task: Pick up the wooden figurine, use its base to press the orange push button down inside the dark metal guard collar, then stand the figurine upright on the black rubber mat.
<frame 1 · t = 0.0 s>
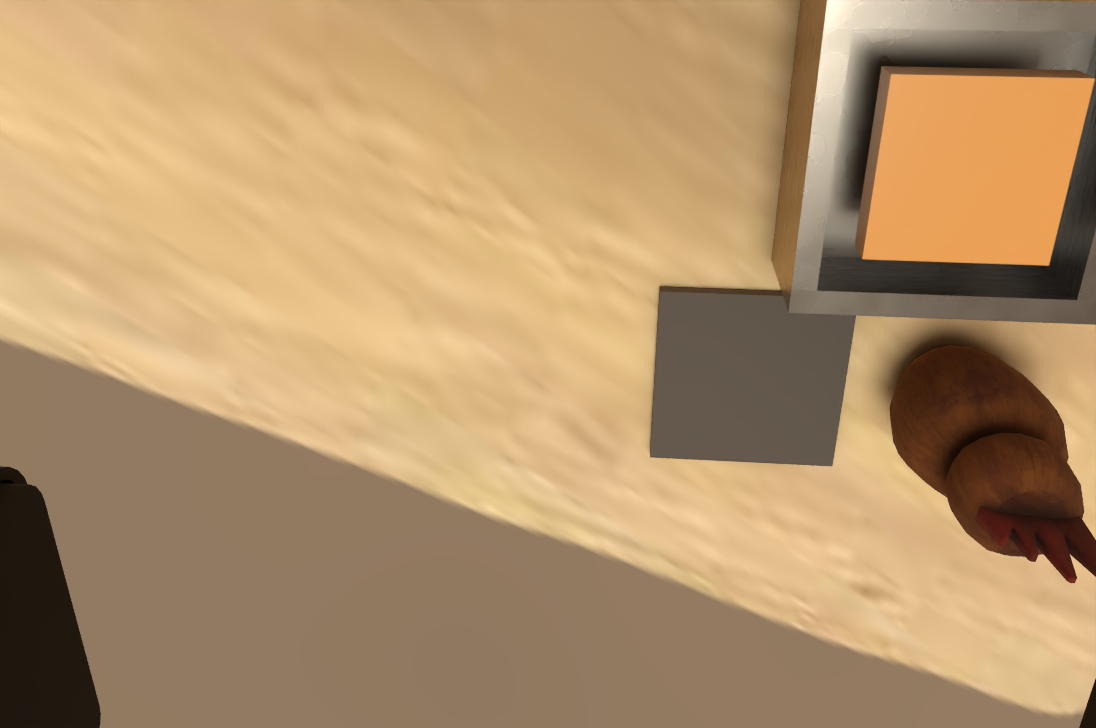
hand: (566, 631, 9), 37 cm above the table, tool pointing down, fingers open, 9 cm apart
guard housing: (929, 132, 42), on the table
wooden figurine: (947, 382, 48), on the table
button: (966, 167, 37), point 6 cm above the table, slide at 0.0 cm
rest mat: (748, 376, 48), on the table
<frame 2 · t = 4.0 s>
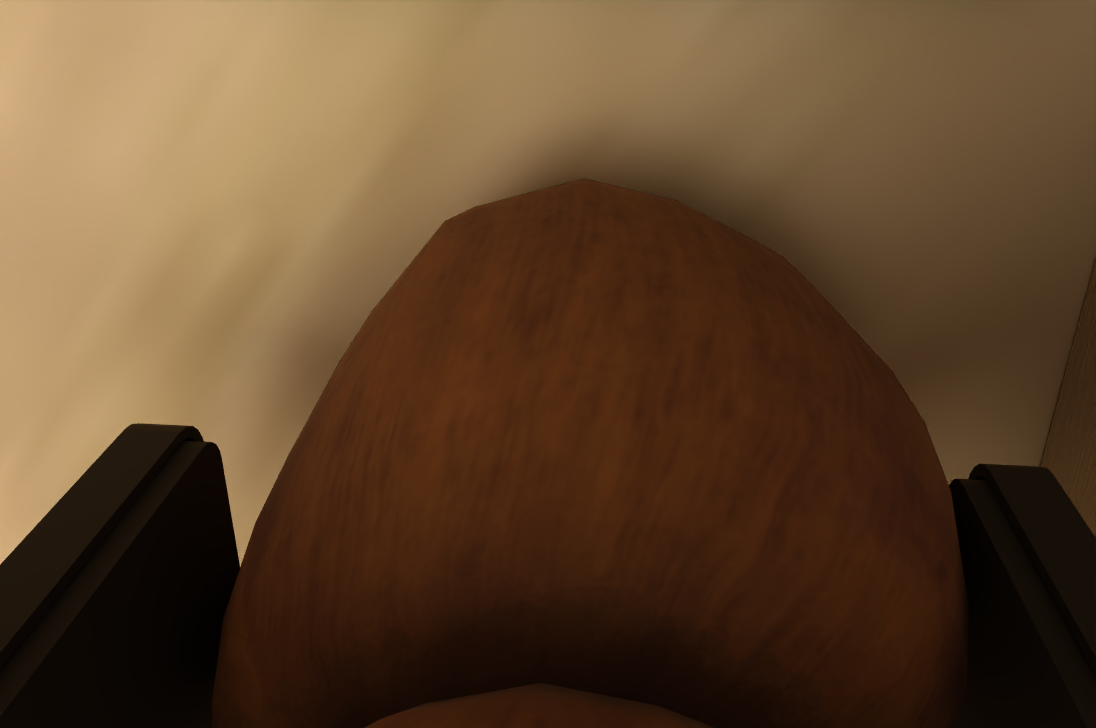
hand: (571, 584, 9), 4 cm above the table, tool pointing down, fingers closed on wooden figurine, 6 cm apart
wooden figurine: (596, 361, 13), on the table, touching gripper
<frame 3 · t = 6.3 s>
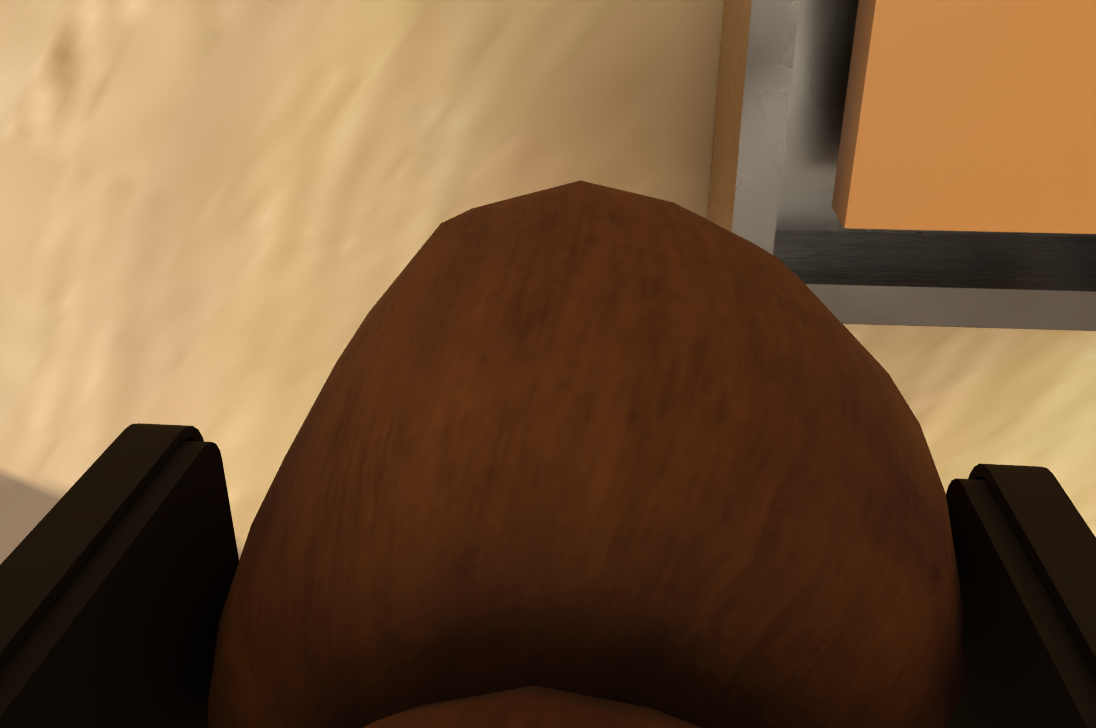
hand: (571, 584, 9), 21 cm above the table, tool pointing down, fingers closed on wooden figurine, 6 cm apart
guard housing: (948, 30, 27), on the table
wooden figurine: (594, 362, 13), point 16 cm above the table, touching gripper
button: (1022, 66, 22), point 5 cm above the table, slide at 0.0 cm
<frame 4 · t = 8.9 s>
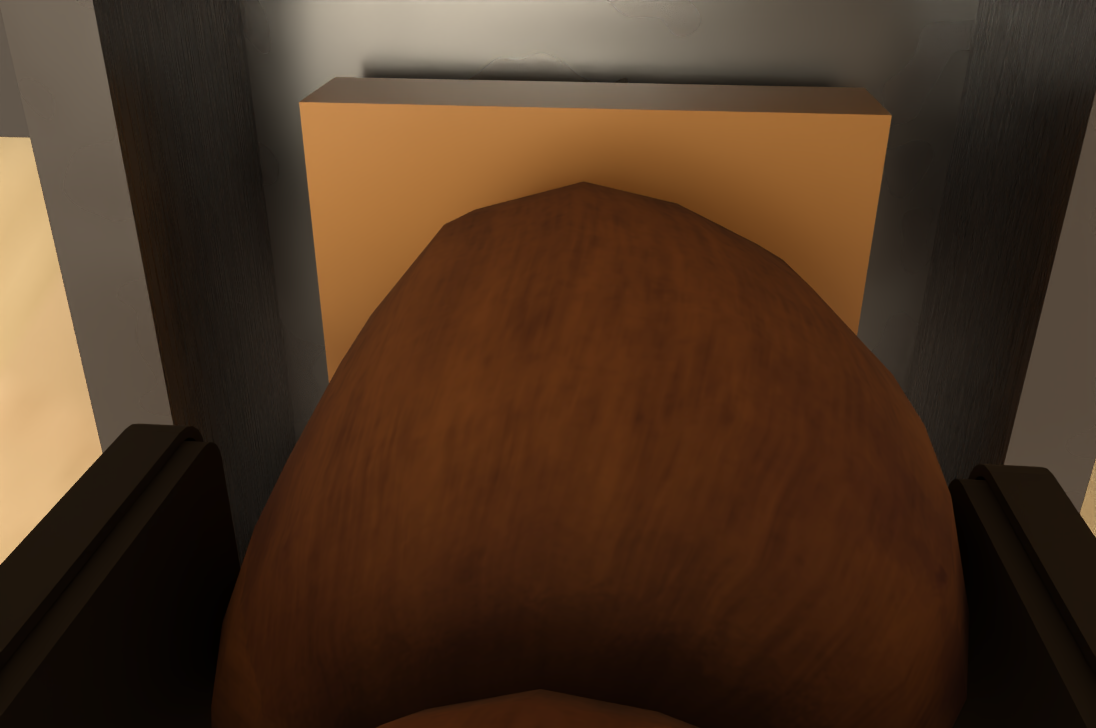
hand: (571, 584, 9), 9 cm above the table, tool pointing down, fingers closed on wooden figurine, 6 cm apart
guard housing: (596, 257, 17), on the table
wooden figurine: (596, 363, 13), point 4 cm above the table, touching button, gripper
button: (586, 346, 14), point 4 cm above the table, slide at 1.9 cm, touching wooden figurine
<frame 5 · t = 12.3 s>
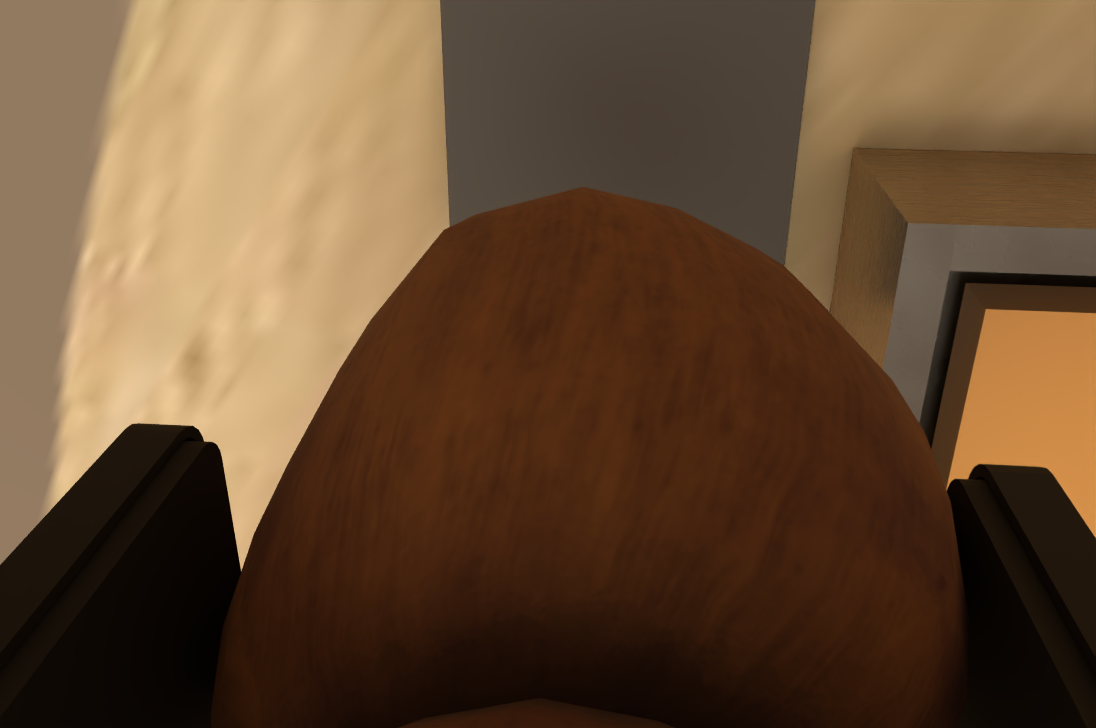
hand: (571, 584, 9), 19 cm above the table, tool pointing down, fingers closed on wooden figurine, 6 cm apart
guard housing: (1041, 366, 28), on the table
wooden figurine: (596, 367, 13), point 14 cm above the table, touching gripper
button: (1093, 431, 25), point 4 cm above the table, slide at 1.9 cm
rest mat: (620, 123, 26), on the table
when the fingers open (6 cm above the table, at t = 14.9 s): wooden figurine stays where it is, resting on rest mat.
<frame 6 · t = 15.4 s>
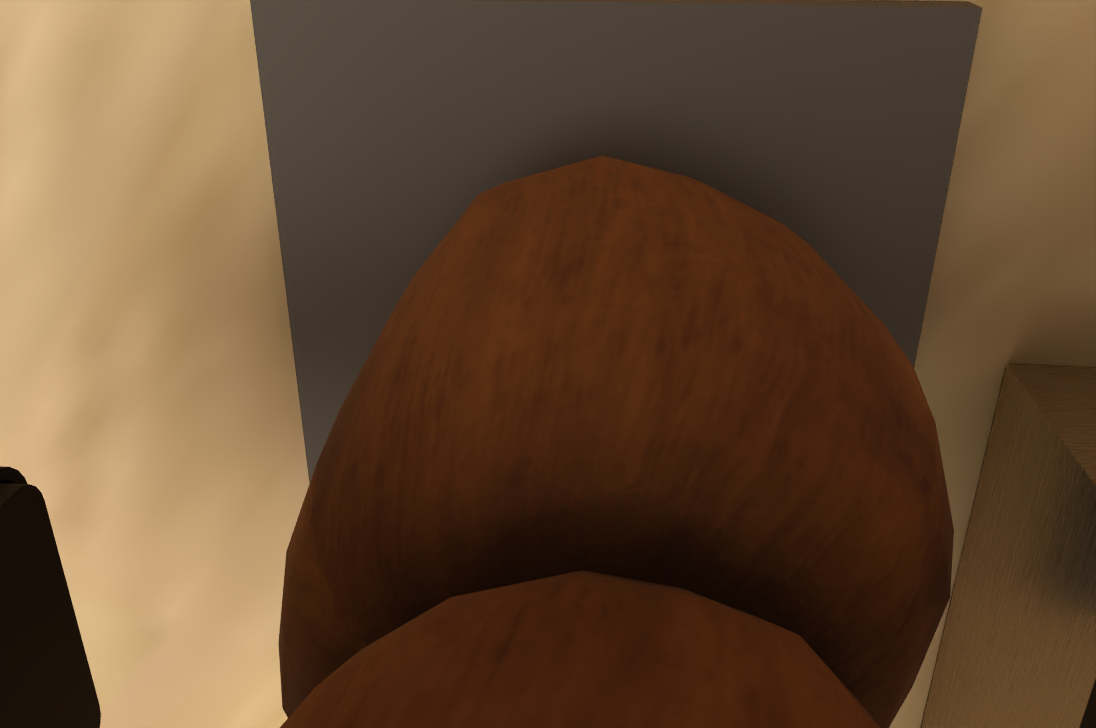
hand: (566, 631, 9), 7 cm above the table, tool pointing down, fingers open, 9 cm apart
wooden figurine: (612, 330, 14), resting on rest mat
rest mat: (598, 317, 15), on the table
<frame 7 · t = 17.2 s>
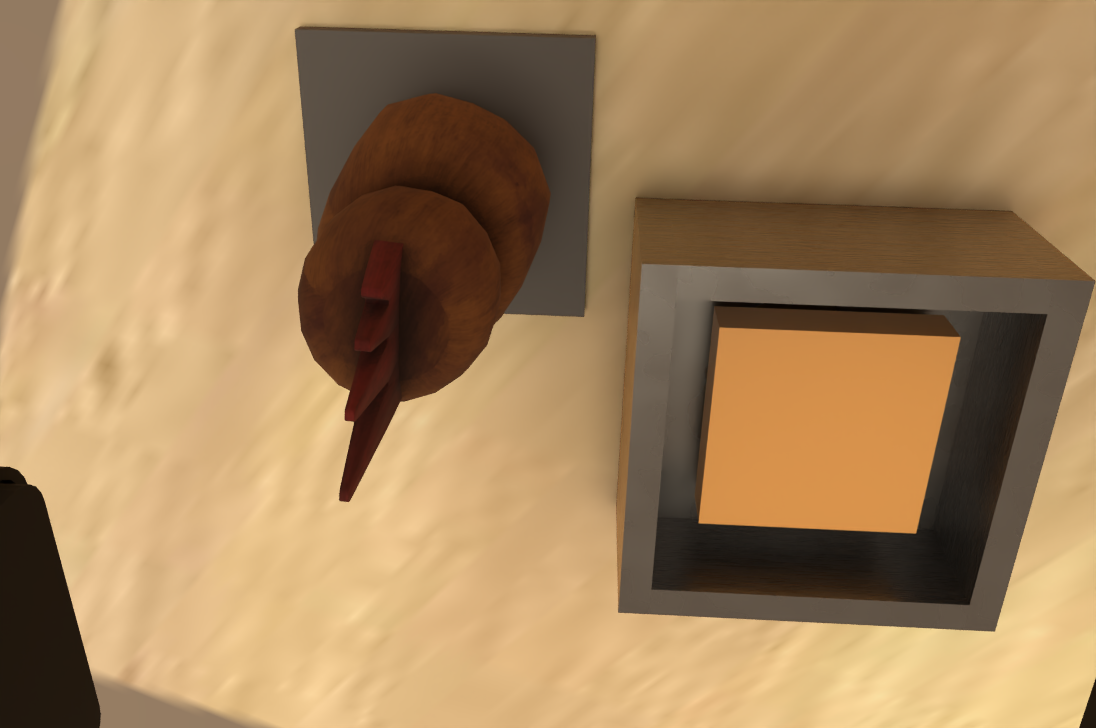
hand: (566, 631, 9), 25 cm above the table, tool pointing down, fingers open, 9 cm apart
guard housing: (797, 371, 35), on the table
wooden figurine: (455, 180, 32), resting on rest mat
button: (817, 422, 31), point 4 cm above the table, slide at 1.9 cm
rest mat: (450, 176, 32), on the table
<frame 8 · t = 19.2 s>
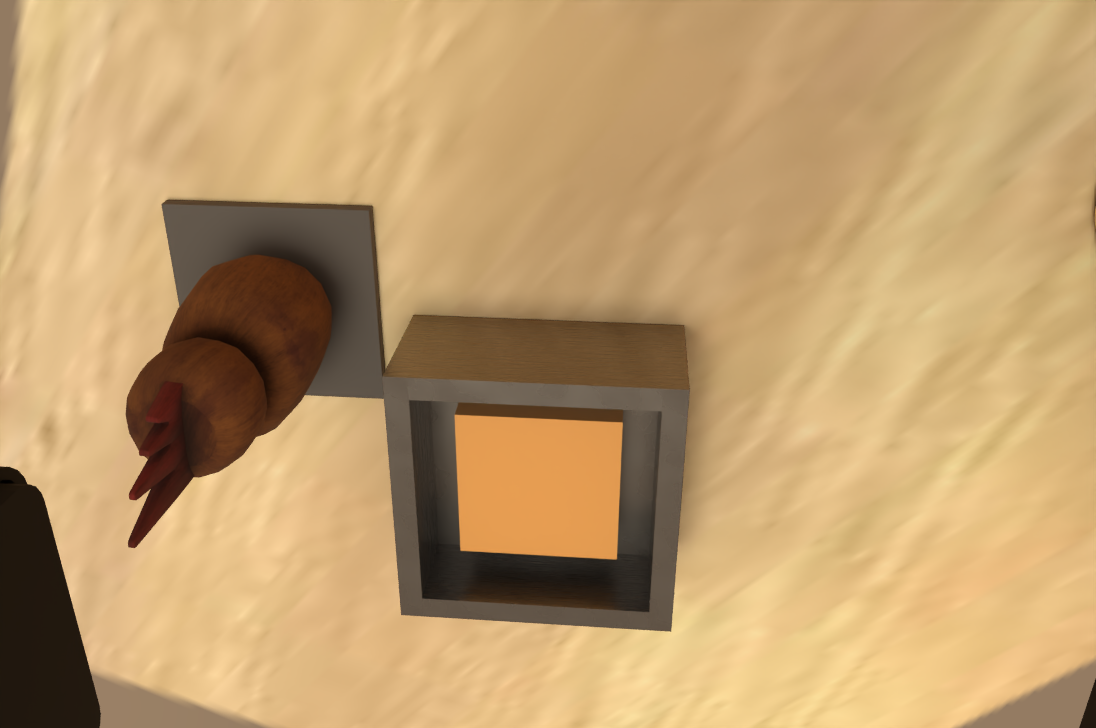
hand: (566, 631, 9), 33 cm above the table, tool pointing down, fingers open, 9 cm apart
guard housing: (546, 437, 47), on the table
wooden figurine: (283, 304, 44), resting on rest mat
button: (539, 479, 43), point 4 cm above the table, slide at 1.9 cm
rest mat: (281, 299, 45), on the table
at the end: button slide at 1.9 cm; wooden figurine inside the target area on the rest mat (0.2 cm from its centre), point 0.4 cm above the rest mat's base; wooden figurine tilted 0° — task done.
